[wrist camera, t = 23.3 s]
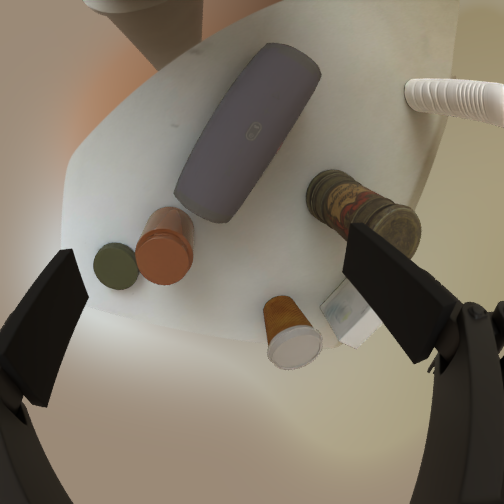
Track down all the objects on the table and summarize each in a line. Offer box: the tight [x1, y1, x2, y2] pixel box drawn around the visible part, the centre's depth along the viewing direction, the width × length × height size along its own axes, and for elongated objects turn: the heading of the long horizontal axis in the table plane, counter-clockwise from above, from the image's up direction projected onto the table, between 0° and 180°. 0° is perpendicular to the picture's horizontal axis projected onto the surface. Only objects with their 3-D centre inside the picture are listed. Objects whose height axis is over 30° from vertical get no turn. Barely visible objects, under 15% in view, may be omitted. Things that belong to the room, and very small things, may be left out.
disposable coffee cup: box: [263, 296, 322, 370], centre depth 47 cm, size 10×10×12 cm
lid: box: [93, 243, 139, 290], centre depth 41 cm, size 8×8×2 cm
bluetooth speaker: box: [174, 43, 321, 223], centre depth 31 cm, size 23×9×10 cm, turn 148°
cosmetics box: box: [320, 278, 383, 349], centre depth 49 cm, size 10×6×10 cm, turn 143°
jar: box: [135, 207, 194, 285], centre depth 36 cm, size 8×8×10 cm
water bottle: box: [404, 79, 504, 128], centre depth 26 cm, size 9×6×25 cm
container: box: [306, 170, 421, 259], centre depth 35 cm, size 9×9×18 cm
